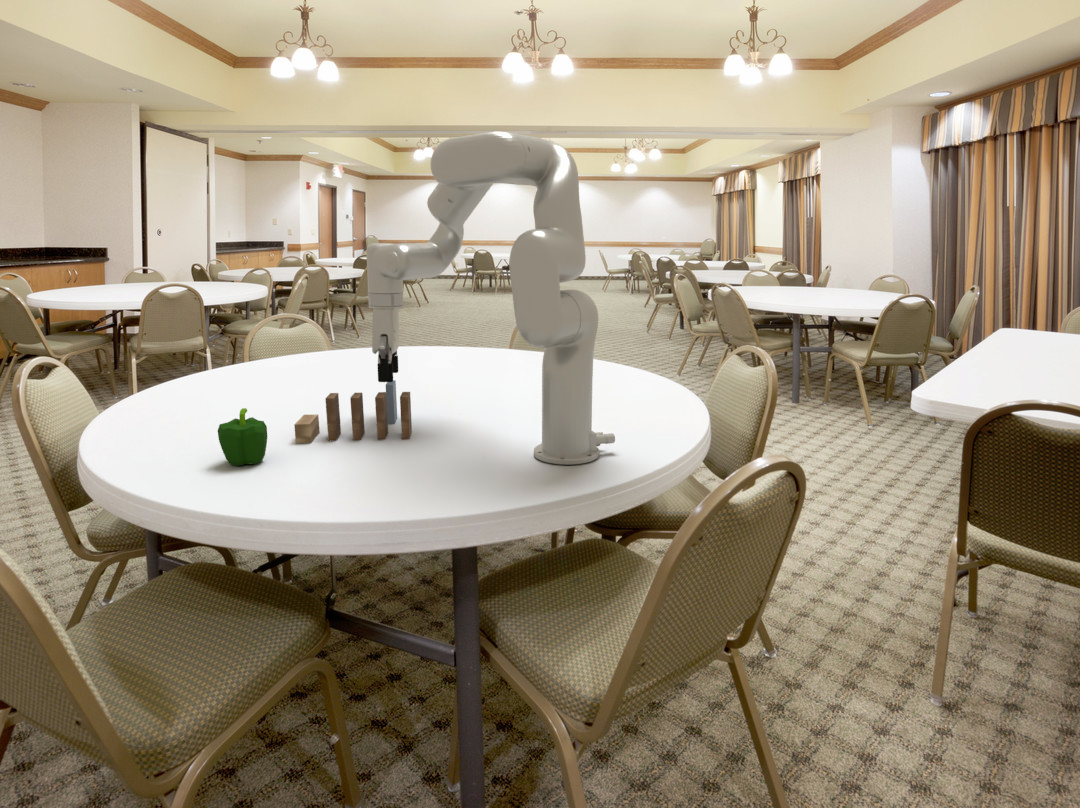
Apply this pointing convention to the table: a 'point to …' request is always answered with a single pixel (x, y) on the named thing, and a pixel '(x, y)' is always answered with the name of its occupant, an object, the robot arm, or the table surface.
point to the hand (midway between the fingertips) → (388, 377)
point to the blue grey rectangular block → (391, 402)
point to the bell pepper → (243, 440)
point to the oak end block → (307, 428)
